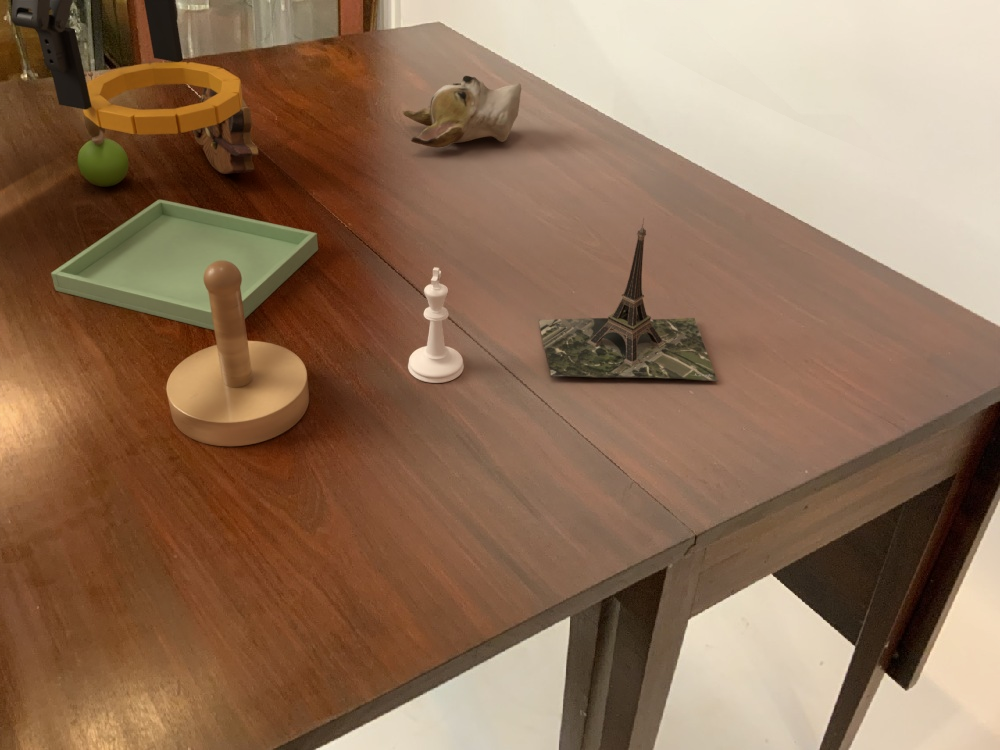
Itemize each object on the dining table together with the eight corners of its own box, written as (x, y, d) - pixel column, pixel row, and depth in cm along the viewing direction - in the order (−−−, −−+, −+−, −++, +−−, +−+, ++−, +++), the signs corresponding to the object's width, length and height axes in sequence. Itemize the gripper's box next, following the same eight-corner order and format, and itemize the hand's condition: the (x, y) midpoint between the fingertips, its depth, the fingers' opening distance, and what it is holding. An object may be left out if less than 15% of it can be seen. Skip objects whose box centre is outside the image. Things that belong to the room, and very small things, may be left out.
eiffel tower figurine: (547, 383, 85) (559, 248, 77) (538, 319, 93) (548, 192, 85) (716, 384, 86) (745, 251, 78) (693, 321, 94) (716, 195, 86)
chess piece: (469, 355, 88) (471, 258, 82) (456, 387, 84) (457, 288, 78) (416, 347, 89) (415, 250, 83) (401, 378, 85) (398, 279, 79)
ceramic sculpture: (529, 86, 119) (407, 96, 117) (529, 152, 124) (413, 163, 122) (513, 58, 127) (399, 67, 125) (513, 121, 132) (404, 131, 130)
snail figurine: (132, 169, 116) (112, 69, 109) (133, 192, 111) (112, 89, 104) (83, 173, 115) (60, 72, 107) (82, 196, 110) (58, 93, 103)
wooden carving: (179, 148, 121) (166, 69, 115) (213, 140, 124) (202, 62, 118) (239, 198, 111) (228, 113, 105) (275, 188, 113) (267, 105, 108)
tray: (55, 290, 94) (50, 272, 93) (162, 215, 107) (159, 198, 106) (229, 334, 89) (226, 315, 88) (318, 249, 102) (317, 232, 101)
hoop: (52, 118, 84) (47, 100, 83) (147, 70, 94) (144, 53, 93) (185, 145, 81) (182, 126, 80) (269, 92, 91) (267, 75, 90)
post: (142, 426, 78) (109, 283, 70) (219, 352, 87) (198, 217, 79) (265, 461, 75) (245, 316, 67) (332, 381, 84) (322, 244, 76)
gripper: (-7, -170, 64) (66, 137, 77) (205, -204, 83) (235, 47, 96) (-96, -180, 66) (-11, 121, 79) (130, -211, 85) (170, 36, 98)
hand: (124, 81), depth 87 cm, fingers closed on hoop, 12 cm apart
